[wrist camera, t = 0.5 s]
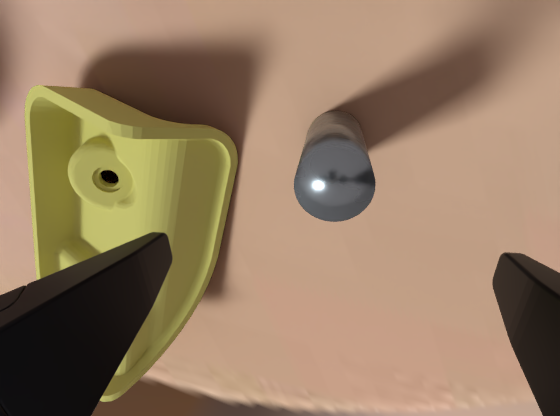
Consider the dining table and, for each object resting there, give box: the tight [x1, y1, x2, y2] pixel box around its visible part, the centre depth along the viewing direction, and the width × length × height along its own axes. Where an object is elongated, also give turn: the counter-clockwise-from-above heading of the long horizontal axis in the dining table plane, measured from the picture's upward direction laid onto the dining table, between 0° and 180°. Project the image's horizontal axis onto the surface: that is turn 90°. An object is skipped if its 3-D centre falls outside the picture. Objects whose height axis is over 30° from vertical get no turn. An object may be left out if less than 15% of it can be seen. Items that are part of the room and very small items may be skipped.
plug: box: [294, 111, 375, 222], centre depth 16 cm, size 3×3×7 cm
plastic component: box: [25, 85, 238, 402], centre depth 23 cm, size 20×7×10 cm
